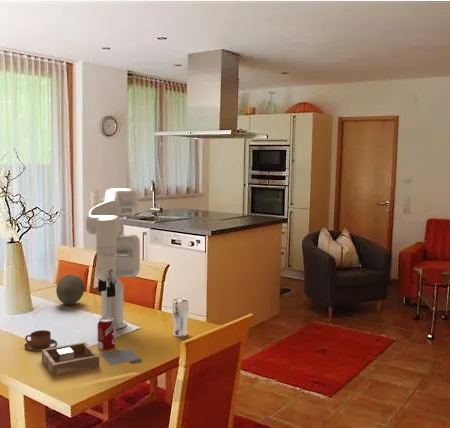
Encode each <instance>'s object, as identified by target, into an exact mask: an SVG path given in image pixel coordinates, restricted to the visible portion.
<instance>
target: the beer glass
mask: <svg viewBox="0 0 450 428" xmlns="http://www.w3.org/2000/svg"><path fill="white" fill-rule="evenodd" d="M189 307H190V306H189V299H188V298H181V297H178V298H174V299H173V300H172V306H171V310H172V312H171V313H172V320H173V325H174V326H173V333H172V335H173V336H174V337H179V338H183V337H186V336H187V335H188V330H187V324H188V319H189V310H190V308H189Z"/></svg>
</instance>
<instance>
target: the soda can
mask: <svg viewBox="0 0 450 428" xmlns="http://www.w3.org/2000/svg"><path fill="white" fill-rule="evenodd" d="M98 320H99V321H98V323H97V349H99V350H102V351H107V350H112V349H115V348H116V329H115V322H114V321H113V320H114V319H113V318H111V317H104V318H102V317H101V318H99V319H98Z"/></svg>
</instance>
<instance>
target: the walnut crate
mask: <svg viewBox="0 0 450 428" xmlns="http://www.w3.org/2000/svg"><path fill="white" fill-rule="evenodd" d="M69 347H70V348H71V349H72V350H73V351H74V360H70V361H65V362H59V363H58V362H57V361H56V350H57V349H63V348H69ZM48 348H49V349H47V348H42V349H43V350H42V351H41V361H42V363H43V364H44V366H45V367H46V368H47V370H48V372H49V373H50V374H51V375H52V377H58V376H62V375H63V376H64V375H67V374H73V373H74V374H75V373H77V372H83V371H84V372H85V371H88V370H93V369H97V368H100V354H98V353H97V352H96V351H94V349H93V348H92V347H91V346H90V345H89V344H88V343H87V342H78V343H73V344H67V345H63V346H62V345H61V346H55V347H54V348H50V347H48Z"/></svg>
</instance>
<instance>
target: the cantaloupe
mask: <svg viewBox="0 0 450 428" xmlns="http://www.w3.org/2000/svg"><path fill="white" fill-rule="evenodd" d="M55 292H56V295H57V299H58V300H59V301H60V302H61V303H62V304H64V305H67V306H68V305H69V306H70V305H71V306H72V305H73V304H76V303H77V302H79V301H80V300H81V298H82V297H83V296H84V293H85V284H84V281H83V279H82V278H81V277H80V276H78V275H75V274H69V275H64V276H62V277H61V278H60V279H59V280H58V282H57V285H56V291H55Z"/></svg>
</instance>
